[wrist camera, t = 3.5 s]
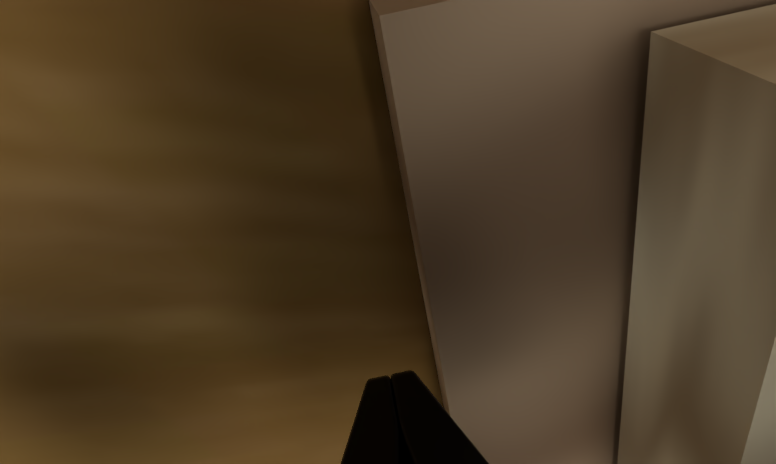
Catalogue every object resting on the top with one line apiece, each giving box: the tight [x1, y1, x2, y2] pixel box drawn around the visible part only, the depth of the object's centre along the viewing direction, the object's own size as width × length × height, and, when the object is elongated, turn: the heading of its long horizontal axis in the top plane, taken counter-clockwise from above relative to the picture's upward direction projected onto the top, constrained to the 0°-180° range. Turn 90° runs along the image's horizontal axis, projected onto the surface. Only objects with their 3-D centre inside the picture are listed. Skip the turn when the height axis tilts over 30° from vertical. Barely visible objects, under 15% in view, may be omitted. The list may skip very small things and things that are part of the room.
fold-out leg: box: [617, 4, 776, 464], centre depth 12 cm, size 17×3×4 cm, turn 10°
